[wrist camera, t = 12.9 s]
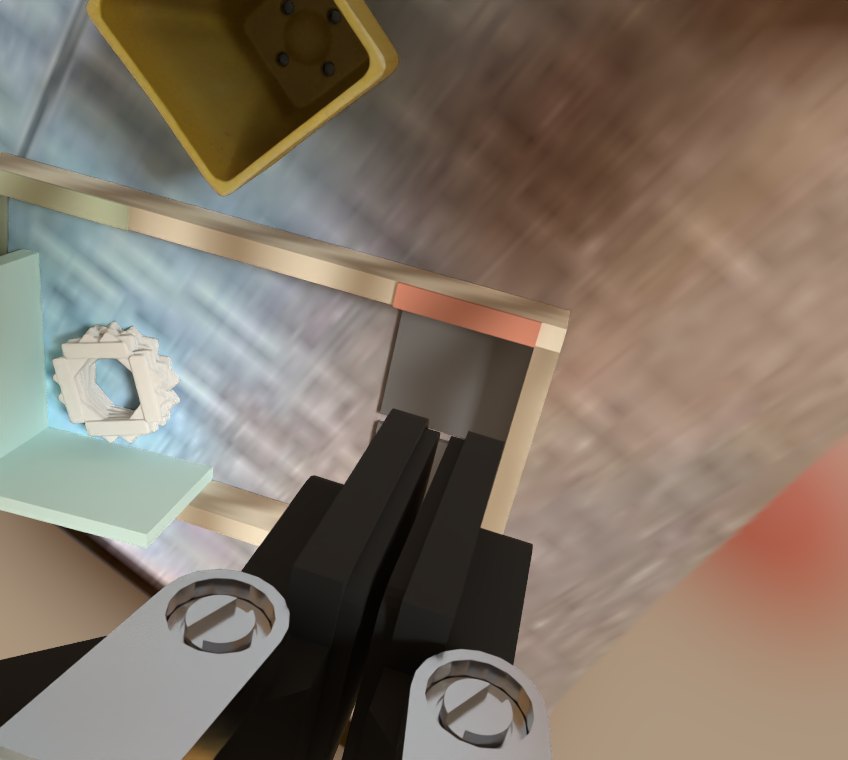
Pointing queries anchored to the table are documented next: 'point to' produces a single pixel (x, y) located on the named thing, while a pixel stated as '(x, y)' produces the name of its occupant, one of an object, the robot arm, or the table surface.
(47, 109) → the table surface
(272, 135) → the flower pot
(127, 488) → the l-shaped corner panel
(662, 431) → the table surface
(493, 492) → the box
